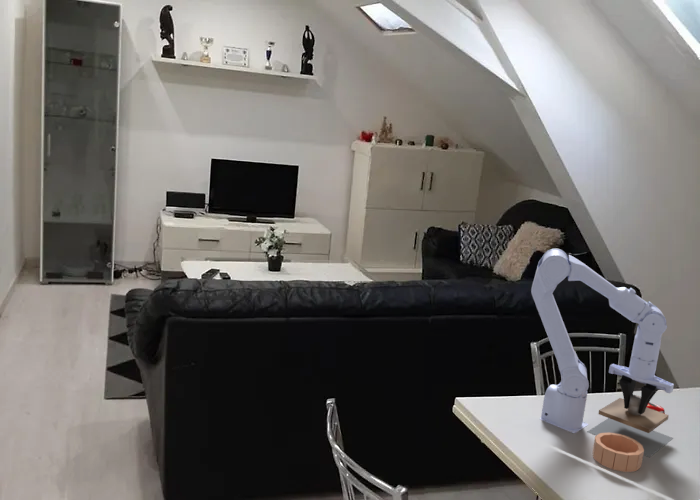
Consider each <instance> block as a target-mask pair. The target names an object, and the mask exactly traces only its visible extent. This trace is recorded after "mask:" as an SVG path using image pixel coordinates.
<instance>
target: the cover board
mask: <svg viewBox="0 0 700 500" xmlns="http://www.w3.org/2000/svg"><path fill="white" fill-rule="evenodd" d="M640 402H641V395H637V394H633V395H631V396H630V401H629V407H628V409H625V408H624V398H622V397H619V398H617V399H615V400H614V401H612V402H610V403H609V404H607V405H605V406H604V407H601V408H600V409H598V413H597V415H599V416H602V417H605V418H606V419H608V418H610V419H613V420H615V421H618V422H620V423H623V424H626V425H628V426H631V427H633V428H636V429H639V430H641V431H644V432H647V433H650V432H651V431H653V430H654V431H655V429H657V428H658V427H659V426H661V425H662V424H663V423H665V422H666V421H668V420H669V414H664V413H661V412H658V411H655V410H652V409H650V408H647V407H646V409H645V412H644V413H643V414H639V413H638V412H639V406H640Z"/></svg>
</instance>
